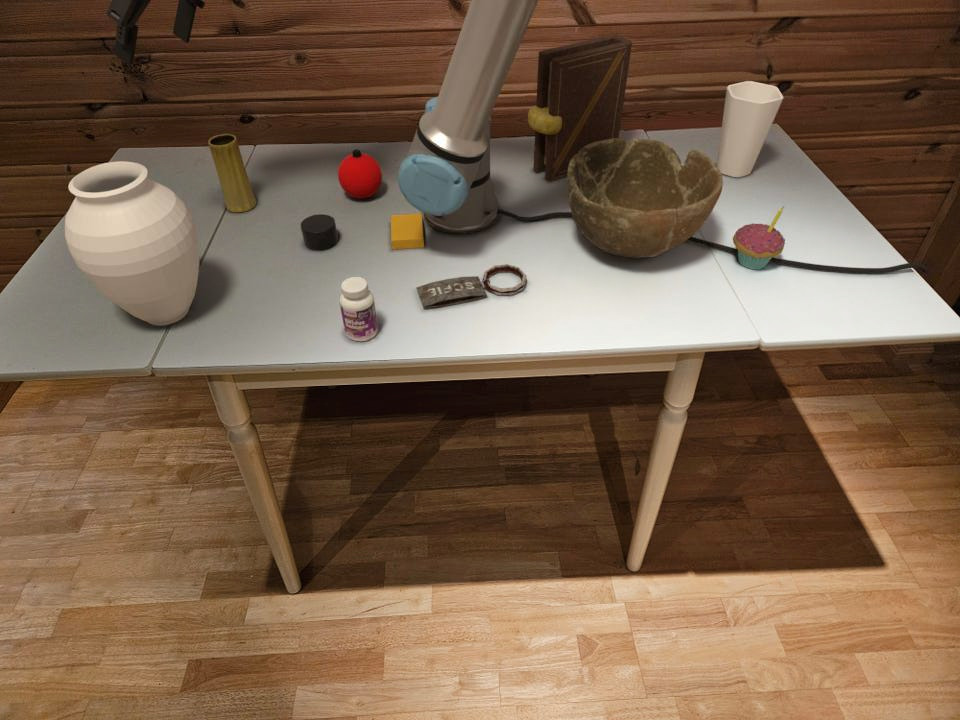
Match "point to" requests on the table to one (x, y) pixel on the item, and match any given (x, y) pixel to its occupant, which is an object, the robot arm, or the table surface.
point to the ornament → (359, 175)
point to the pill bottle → (358, 309)
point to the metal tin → (319, 232)
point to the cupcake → (758, 243)
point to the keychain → (466, 288)
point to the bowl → (640, 195)
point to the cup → (746, 125)
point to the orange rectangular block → (407, 231)
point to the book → (577, 100)
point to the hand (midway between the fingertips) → (153, 48)
